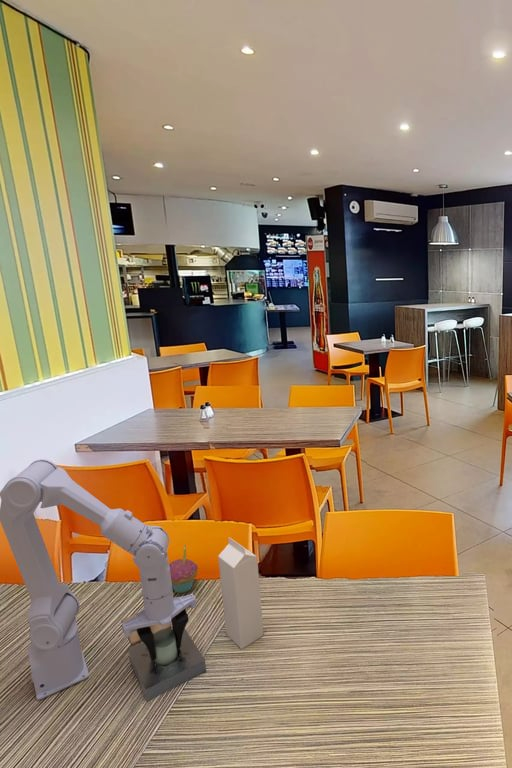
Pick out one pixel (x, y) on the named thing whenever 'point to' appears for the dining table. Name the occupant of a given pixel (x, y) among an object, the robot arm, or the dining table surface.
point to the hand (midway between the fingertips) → (165, 650)
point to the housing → (166, 667)
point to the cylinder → (165, 647)
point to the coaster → (134, 635)
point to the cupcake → (182, 573)
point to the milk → (240, 594)
